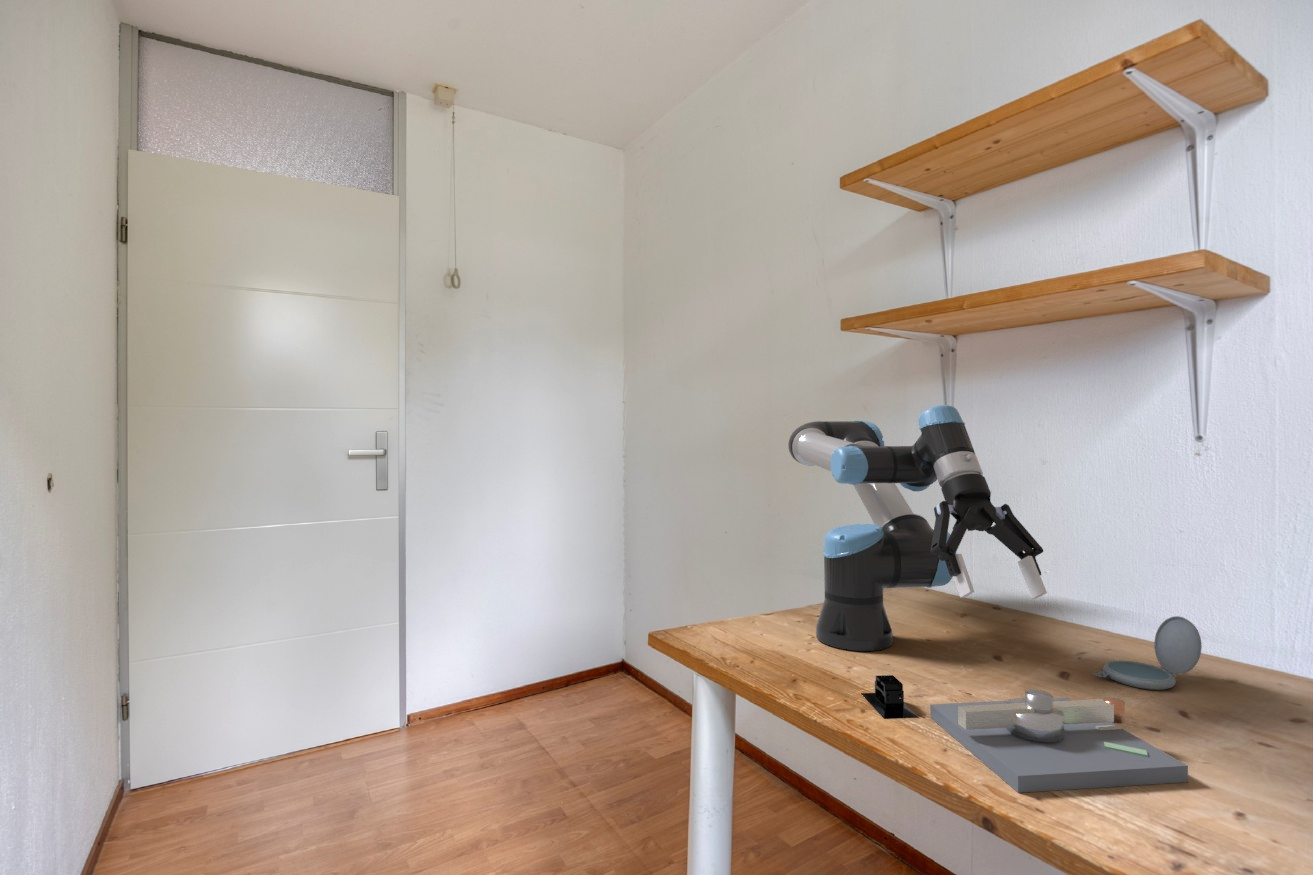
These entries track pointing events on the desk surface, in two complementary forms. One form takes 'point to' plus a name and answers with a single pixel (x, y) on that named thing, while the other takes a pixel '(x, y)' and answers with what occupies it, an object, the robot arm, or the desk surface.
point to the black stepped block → (889, 698)
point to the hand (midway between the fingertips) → (1004, 595)
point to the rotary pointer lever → (1040, 715)
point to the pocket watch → (1161, 657)
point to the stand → (1064, 755)
